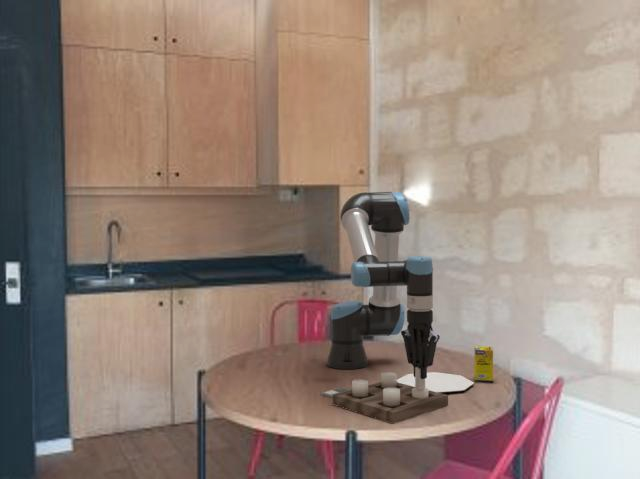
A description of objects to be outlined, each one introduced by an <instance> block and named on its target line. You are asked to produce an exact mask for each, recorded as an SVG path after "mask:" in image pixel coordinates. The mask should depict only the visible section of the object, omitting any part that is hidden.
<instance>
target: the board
mask: <svg viewBox="0 0 640 479" xmlns="http://www.w3.org/2000/svg"><path fill="white" fill-rule="evenodd" d="M396 388H398V389H400V405H398V406H386V405H384V404H383V389H384V388H381V381H380V382H376V383H371V384H368V396H366V397H355V396H352V389H349V391H345V392H341V393H338V394H334V395H333V398H332V405H333V404H335V405H338V406H337V407H339V406H341V407H340V408H342V407H344V408H343V409H345V408H347V409H346V410H348V409H350V410H349V411H351V410H353V411H352V412H355V411H357V412H356V413H358V412H360V413H359V414H361V413H363V414H362V415H364V414H366V415H365V416H367V415H369V416H368V417H371V416H372V417H371V418H374V417H376V418H375V419H377V418H379V419H378V420H380V419H382V420H381V421H383V420H385V421H384V422H387V421H388V422H387V423H390V422H391V423H390V424H396V423H399V422H402V421H406V420H408V419H411V418H414V417H417V416H421V415H423V414H426V413H429V412H432V411H435V410H439V409H441V408H444V407H447V406H449V395H448V394H446V393H437V392H433V391H429V390H428V398H425V399H422V400H421V399H418V398H414V397H412V389H413V388H415V387H413V386H409V385H405V384H401V383H397V387H396ZM335 405H334V406H335ZM395 422H396V423H395Z"/></svg>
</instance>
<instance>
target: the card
mask: <svg viewBox="0 0 640 479" xmlns="http://www.w3.org/2000/svg"><path fill="white" fill-rule="evenodd" d="M349 390H350V389H348V388H345V387H338V388H334V389H329V390H326V391H322V392H320V395H321V394H323V395H325V396H324V397H327V396H329V397H328V398H330V397H332V398H331V399H333V395H334V394H338V393H341V392H345V391H349ZM323 395H322V396H323Z"/></svg>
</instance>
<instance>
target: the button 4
mask: <svg viewBox="0 0 640 479" xmlns="http://www.w3.org/2000/svg"><path fill="white" fill-rule="evenodd" d="M412 397H414V398H418V399H421V400H422V399H425V398H428V389H427V388H425V389H422V390H416V389H415V388H413V389H412Z"/></svg>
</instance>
